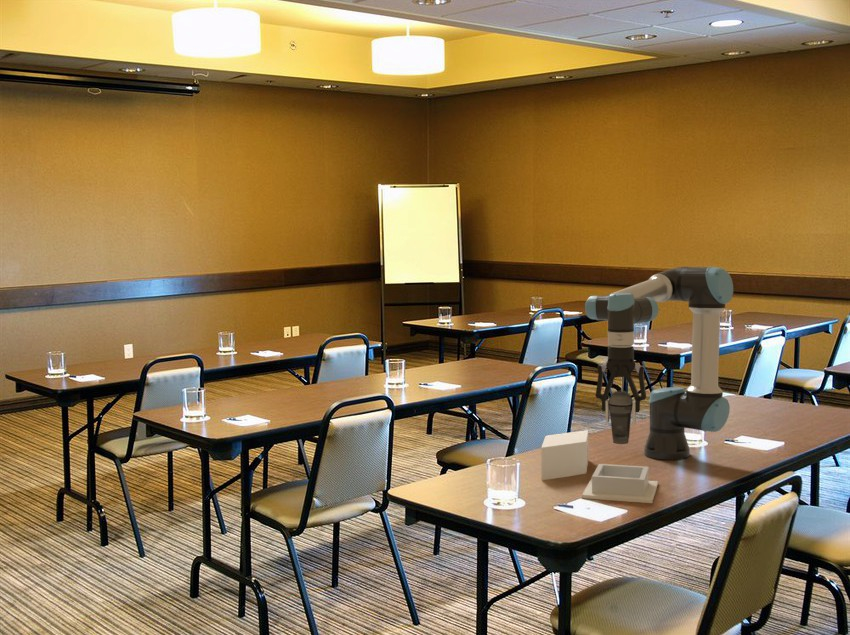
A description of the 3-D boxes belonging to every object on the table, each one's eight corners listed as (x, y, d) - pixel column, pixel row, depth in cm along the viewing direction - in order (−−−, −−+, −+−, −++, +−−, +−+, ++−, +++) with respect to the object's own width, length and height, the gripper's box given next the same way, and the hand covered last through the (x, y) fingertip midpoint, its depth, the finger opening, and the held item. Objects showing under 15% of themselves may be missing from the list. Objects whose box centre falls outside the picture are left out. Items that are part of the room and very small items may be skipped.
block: (608, 464, 312) (608, 432, 311) (562, 484, 289) (562, 450, 288) (568, 457, 321) (568, 427, 320) (521, 477, 298) (521, 444, 297)
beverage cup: (621, 438, 283) (621, 373, 281) (638, 442, 277) (638, 376, 275) (603, 441, 280) (602, 375, 278) (620, 446, 273) (620, 378, 271)
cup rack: (592, 480, 292) (592, 461, 292) (657, 484, 286) (657, 465, 286) (582, 498, 274) (582, 478, 273) (652, 503, 267) (652, 482, 267)
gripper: (584, 346, 275) (584, 423, 277) (654, 348, 269) (654, 426, 271) (588, 343, 282) (588, 418, 285) (656, 344, 276) (656, 421, 278)
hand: (620, 422), depth 278 cm, fingers closed on beverage cup, 7 cm apart
